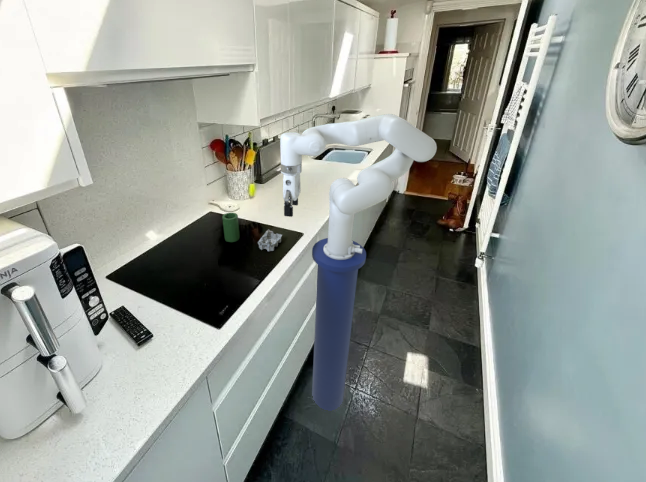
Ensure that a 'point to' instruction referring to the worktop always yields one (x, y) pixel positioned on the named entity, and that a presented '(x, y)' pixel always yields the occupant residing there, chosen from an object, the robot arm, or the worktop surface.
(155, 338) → the worktop surface
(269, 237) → the egg carton
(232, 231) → the green hollow cylinder
